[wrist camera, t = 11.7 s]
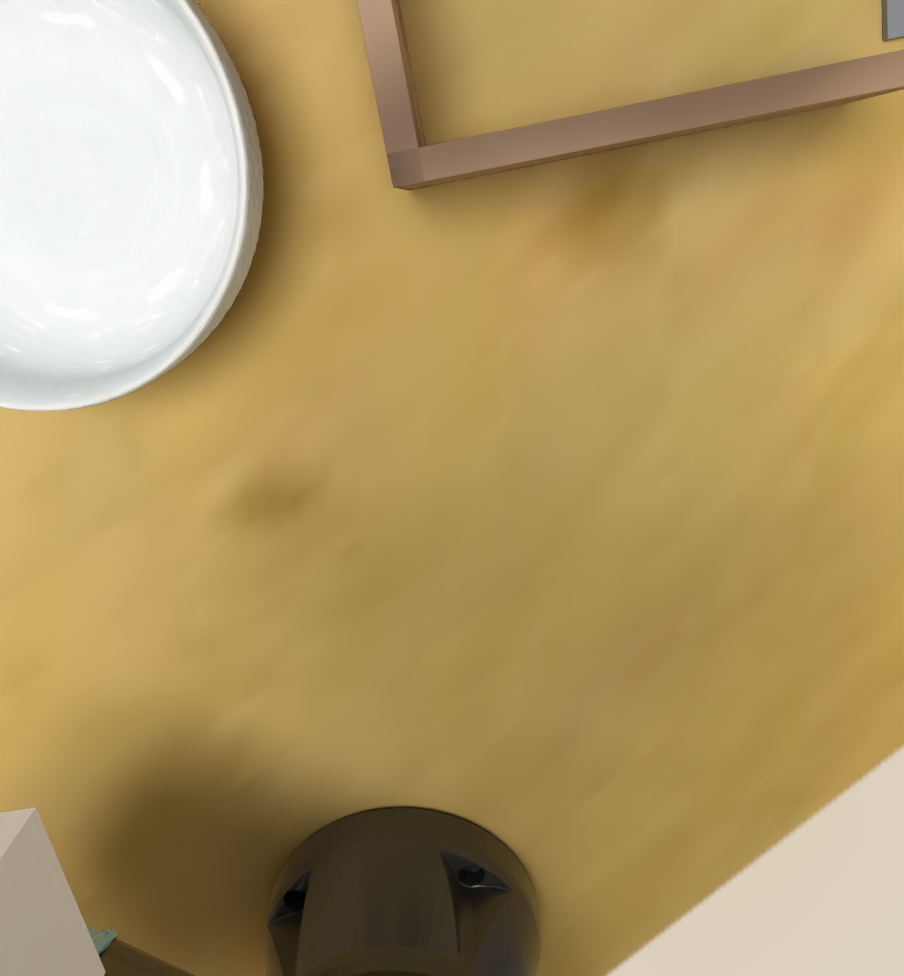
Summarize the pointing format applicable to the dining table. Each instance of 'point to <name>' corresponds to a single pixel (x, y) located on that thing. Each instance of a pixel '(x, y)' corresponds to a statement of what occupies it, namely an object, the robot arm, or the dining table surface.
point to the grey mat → (893, 19)
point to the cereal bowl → (117, 195)
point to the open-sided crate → (592, 130)
